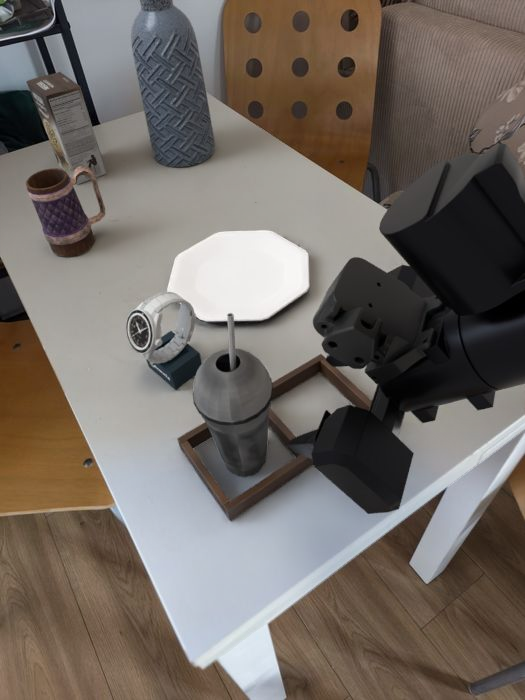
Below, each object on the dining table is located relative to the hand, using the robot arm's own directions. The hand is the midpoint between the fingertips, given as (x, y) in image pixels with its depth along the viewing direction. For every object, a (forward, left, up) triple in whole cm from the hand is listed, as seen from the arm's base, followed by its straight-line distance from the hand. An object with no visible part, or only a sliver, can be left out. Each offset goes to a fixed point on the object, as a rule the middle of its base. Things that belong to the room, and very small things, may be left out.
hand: (311, 401), depth 43 cm
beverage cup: (+7, +1, -14) cm, 15 cm away
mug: (+50, -23, -14) cm, 57 cm away
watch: (+21, -7, -14) cm, 26 cm away
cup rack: (+5, -4, -13) cm, 15 cm away
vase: (+51, -54, -14) cm, 75 cm away
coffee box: (+66, -41, -14) cm, 79 cm away
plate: (+22, -25, -14) cm, 36 cm away
